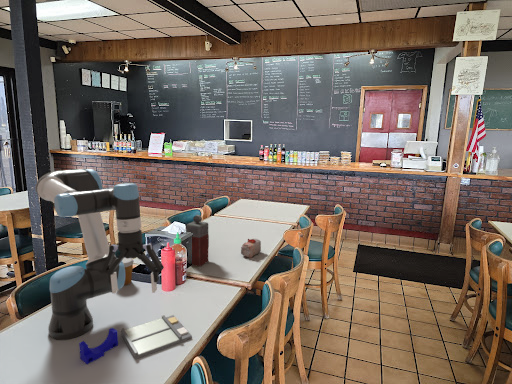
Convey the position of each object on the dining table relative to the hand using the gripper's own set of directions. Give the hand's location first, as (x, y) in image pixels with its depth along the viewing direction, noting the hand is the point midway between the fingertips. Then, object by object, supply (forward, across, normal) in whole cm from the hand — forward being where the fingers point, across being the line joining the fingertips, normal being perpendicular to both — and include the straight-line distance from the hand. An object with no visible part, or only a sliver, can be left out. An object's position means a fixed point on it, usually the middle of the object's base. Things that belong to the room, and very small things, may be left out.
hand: (134, 291), depth 118 cm
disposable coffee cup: (+17, -27, +52) cm, 61 cm away
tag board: (+22, +2, +10) cm, 25 cm away
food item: (+19, +33, +96) cm, 104 cm away
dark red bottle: (+18, +4, +82) cm, 84 cm away
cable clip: (+22, -14, 0) cm, 26 cm away
